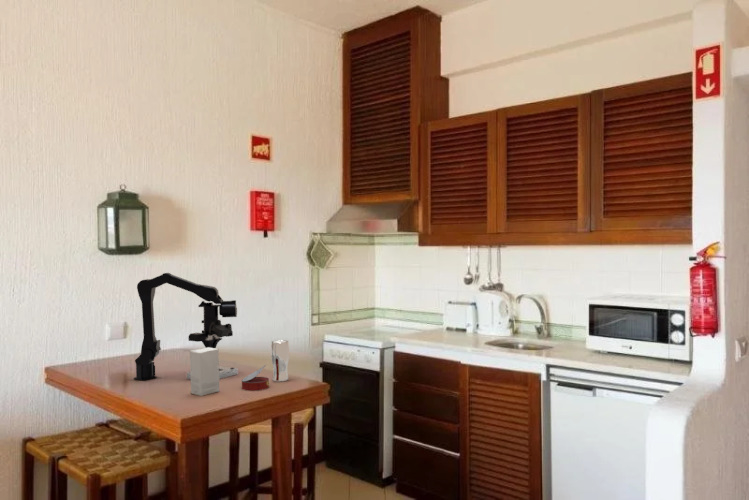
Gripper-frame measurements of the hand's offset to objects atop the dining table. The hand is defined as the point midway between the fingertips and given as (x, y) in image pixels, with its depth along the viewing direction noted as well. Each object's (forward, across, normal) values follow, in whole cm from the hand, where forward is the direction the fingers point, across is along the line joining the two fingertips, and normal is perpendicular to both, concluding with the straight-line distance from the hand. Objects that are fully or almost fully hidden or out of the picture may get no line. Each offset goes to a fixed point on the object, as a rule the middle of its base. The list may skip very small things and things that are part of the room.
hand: (211, 356), depth 242 cm
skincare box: (+8, -21, -20) cm, 31 cm away
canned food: (+8, -6, -30) cm, 32 cm away
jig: (+8, 0, -1) cm, 8 cm away
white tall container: (+8, +8, -30) cm, 32 cm away
